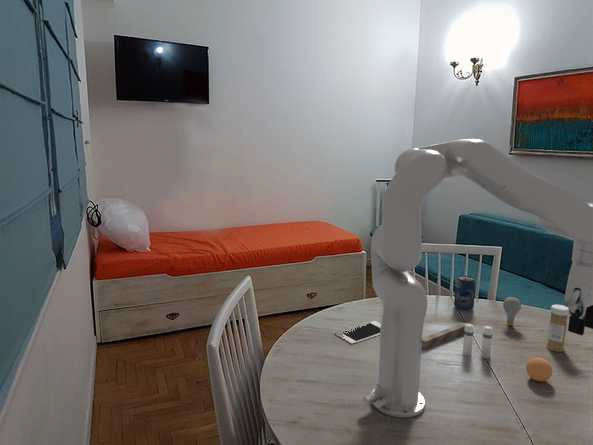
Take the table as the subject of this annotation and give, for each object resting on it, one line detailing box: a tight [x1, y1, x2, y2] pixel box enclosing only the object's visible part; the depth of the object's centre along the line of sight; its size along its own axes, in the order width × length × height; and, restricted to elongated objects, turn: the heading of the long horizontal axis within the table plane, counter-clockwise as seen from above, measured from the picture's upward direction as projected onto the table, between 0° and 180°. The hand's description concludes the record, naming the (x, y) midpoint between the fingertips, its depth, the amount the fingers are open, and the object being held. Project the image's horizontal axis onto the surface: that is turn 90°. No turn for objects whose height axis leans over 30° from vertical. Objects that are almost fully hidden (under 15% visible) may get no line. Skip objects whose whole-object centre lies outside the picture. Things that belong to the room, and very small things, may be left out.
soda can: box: [453, 275, 477, 313], centre depth 161 cm, size 7×7×12 cm
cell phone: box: [341, 320, 381, 345], centre depth 142 cm, size 9×18×1 cm, turn 124°
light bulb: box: [502, 296, 522, 327], centre depth 147 cm, size 6×6×10 cm
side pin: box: [462, 323, 475, 357], centre depth 127 cm, size 2×2×9 cm
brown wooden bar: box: [421, 322, 468, 350], centre depth 138 cm, size 22×2×2 cm, turn 125°
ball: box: [525, 357, 553, 383], centre depth 114 cm, size 6×6×6 cm
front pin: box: [480, 325, 494, 360], centre depth 126 cm, size 2×2×9 cm
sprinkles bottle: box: [546, 304, 570, 353], centre depth 130 cm, size 5×5×13 cm
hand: (581, 329), depth 104 cm, fingers open, 5 cm apart
